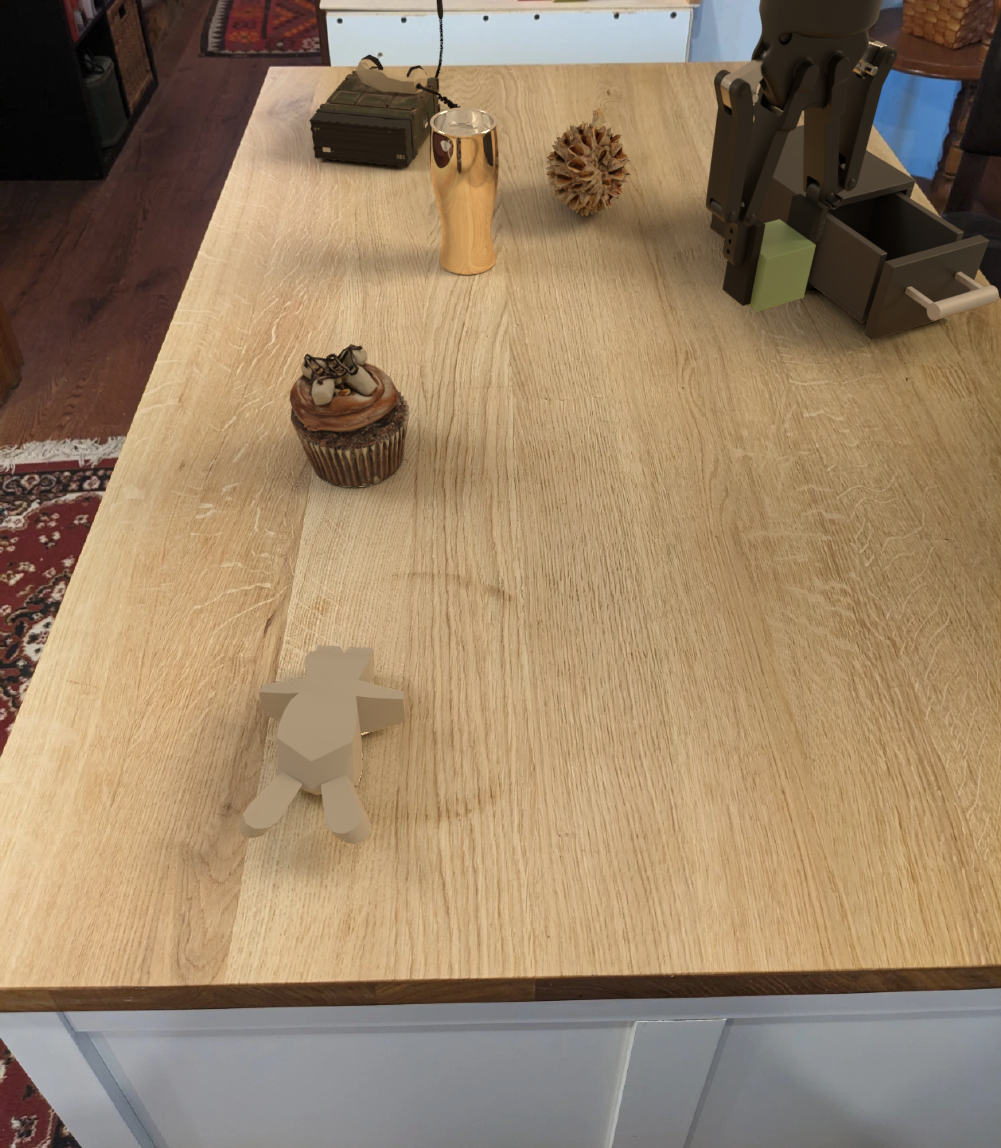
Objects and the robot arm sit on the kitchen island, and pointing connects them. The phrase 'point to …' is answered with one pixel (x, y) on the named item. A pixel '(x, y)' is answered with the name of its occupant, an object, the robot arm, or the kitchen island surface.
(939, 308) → the drawer
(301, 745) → the teddy bear
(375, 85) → the radio
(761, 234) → the robot arm
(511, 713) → the kitchen island surface
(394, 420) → the cupcake
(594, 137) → the pine cone
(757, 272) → the block
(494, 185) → the beer glass
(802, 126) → the cabinet
